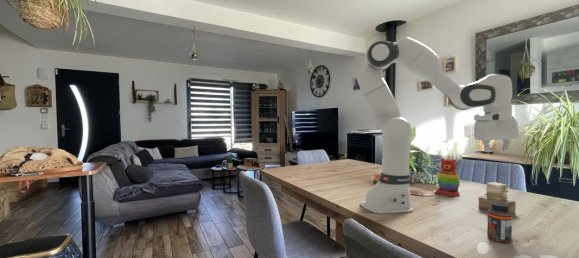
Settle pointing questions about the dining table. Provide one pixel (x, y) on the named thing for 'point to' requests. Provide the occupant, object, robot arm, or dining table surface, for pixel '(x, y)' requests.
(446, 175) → the stacking bear
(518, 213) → the base plate
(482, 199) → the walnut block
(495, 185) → the oak block
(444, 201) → the dining table surface
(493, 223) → the supplement bottle
